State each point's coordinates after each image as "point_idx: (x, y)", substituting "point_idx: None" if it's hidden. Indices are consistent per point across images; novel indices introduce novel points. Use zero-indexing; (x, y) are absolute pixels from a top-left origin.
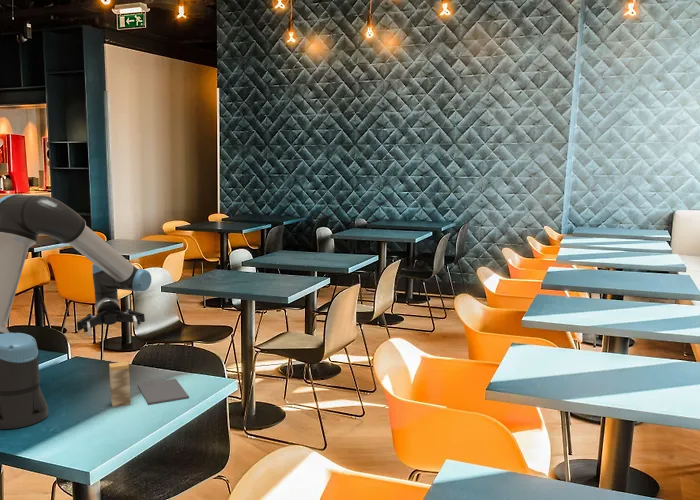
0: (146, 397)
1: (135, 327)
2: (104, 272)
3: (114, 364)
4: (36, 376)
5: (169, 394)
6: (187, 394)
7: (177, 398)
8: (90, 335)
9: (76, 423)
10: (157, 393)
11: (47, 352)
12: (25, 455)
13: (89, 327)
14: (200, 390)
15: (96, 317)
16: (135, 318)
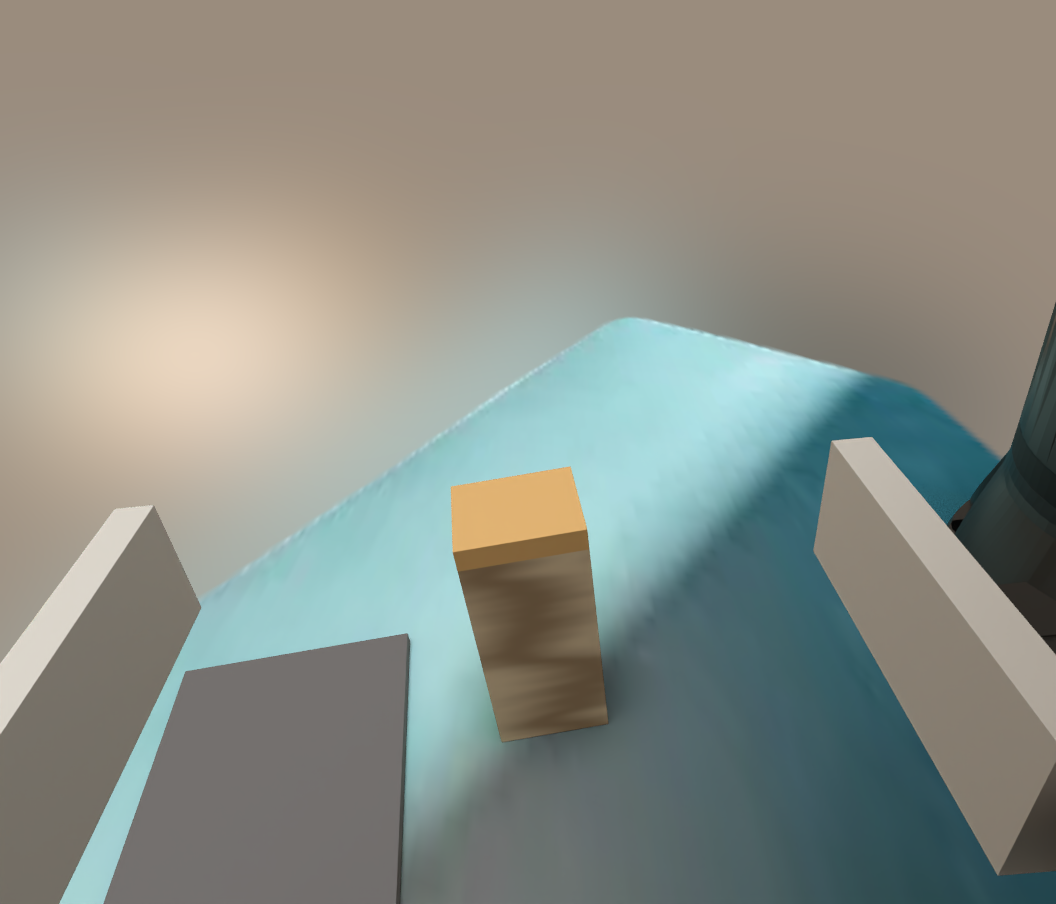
0: (396, 711)
1: (185, 585)
2: None
3: (546, 509)
4: (1033, 386)
5: (260, 725)
6: (176, 698)
7: (249, 662)
8: (822, 546)
9: (739, 520)
10: (316, 761)
11: None
12: (830, 367)
13: (843, 441)
14: None
15: None
16: (36, 630)
